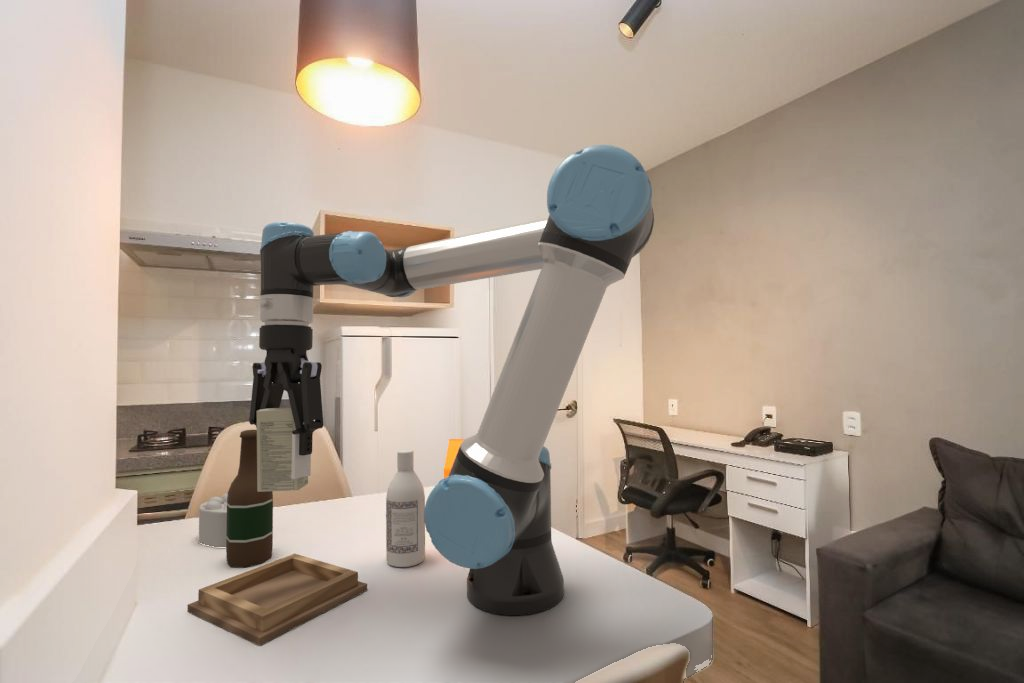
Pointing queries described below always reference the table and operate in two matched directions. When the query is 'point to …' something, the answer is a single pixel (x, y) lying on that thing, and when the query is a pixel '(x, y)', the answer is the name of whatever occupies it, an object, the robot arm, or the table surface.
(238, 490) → the beer bottle
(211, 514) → the lumpy-topped squat cylinder
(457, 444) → the orange juice
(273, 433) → the skincare box
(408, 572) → the table surface
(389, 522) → the bath foam
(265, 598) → the wooden tray
